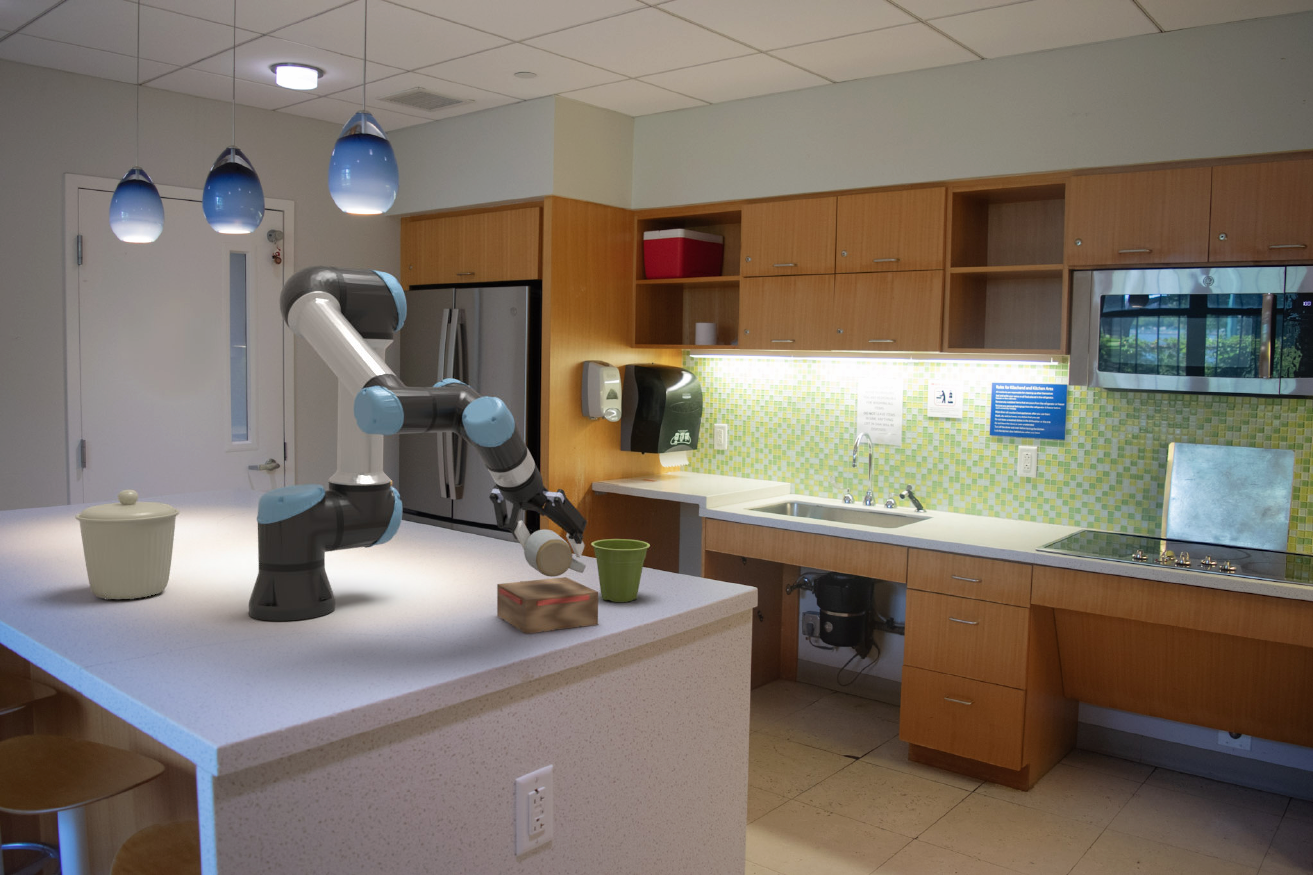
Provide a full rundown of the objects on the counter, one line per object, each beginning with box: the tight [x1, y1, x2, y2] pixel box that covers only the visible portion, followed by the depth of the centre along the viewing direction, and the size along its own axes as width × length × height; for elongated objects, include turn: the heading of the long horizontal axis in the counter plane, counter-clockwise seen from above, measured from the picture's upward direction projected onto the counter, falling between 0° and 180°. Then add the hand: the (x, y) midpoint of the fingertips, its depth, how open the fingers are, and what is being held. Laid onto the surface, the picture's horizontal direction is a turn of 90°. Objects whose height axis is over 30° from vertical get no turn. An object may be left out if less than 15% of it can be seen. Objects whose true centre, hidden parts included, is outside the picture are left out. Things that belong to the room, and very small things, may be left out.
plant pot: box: [590, 538, 651, 603], centre depth 196 cm, size 12×12×11 cm
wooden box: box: [496, 576, 599, 635], centre depth 178 cm, size 14×14×6 cm
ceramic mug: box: [523, 529, 586, 577], centre depth 178 cm, size 11×8×8 cm
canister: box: [75, 489, 180, 600], centre depth 192 cm, size 18×18×21 cm
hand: (555, 549), depth 180 cm, fingers closed on ceramic mug, 10 cm apart
